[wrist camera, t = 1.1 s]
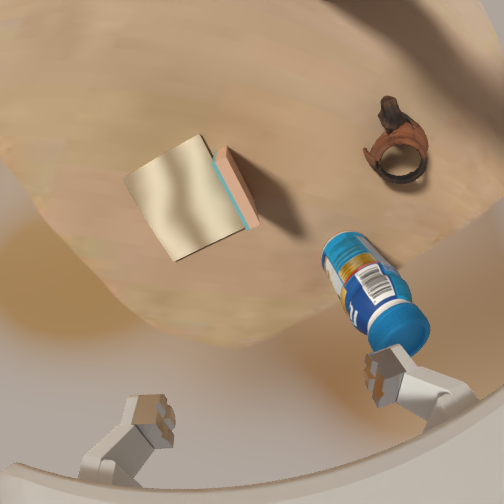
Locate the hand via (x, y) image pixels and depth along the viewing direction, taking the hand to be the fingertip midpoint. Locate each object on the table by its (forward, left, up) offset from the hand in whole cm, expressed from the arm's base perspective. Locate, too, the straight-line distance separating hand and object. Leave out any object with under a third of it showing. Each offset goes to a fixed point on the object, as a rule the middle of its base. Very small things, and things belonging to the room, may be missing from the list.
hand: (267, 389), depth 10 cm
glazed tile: (0, -1, -31) cm, 31 cm away
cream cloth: (+7, -1, -31) cm, 32 cm away
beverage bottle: (-10, +17, -31) cm, 36 cm away
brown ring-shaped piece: (-22, +2, -31) cm, 38 cm away
